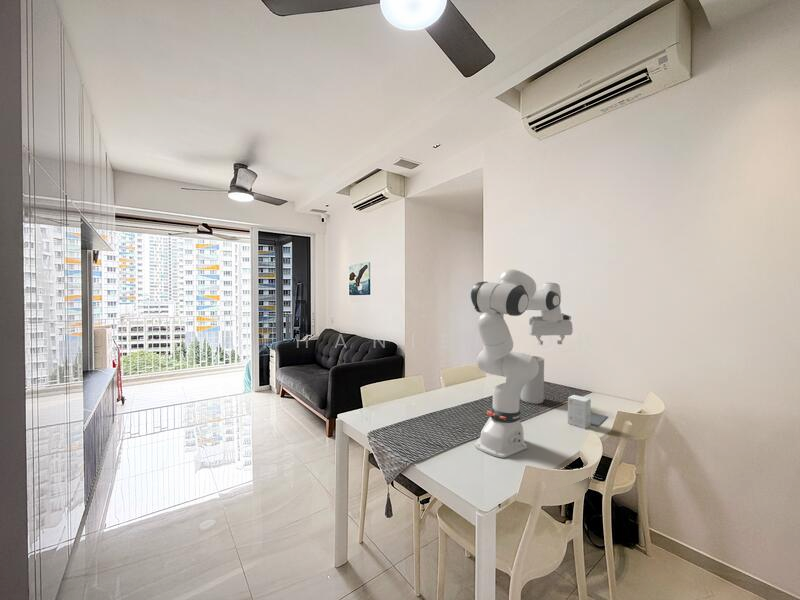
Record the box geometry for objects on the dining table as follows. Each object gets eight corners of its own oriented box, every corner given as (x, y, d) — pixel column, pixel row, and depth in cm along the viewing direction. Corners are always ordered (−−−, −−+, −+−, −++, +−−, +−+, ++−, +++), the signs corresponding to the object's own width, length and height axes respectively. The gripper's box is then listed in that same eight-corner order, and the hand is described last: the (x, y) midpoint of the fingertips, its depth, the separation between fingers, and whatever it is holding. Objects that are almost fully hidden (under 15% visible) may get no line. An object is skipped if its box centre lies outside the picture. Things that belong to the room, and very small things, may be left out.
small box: (590, 425, 151) (591, 398, 150) (585, 429, 147) (585, 401, 146) (572, 419, 157) (573, 394, 157) (567, 423, 153) (567, 397, 153)
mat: (597, 426, 150) (597, 425, 150) (577, 420, 156) (577, 419, 156) (607, 417, 160) (607, 416, 160) (587, 411, 167) (587, 411, 167)
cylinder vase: (536, 396, 191) (537, 355, 190) (547, 404, 178) (548, 360, 177) (516, 396, 190) (517, 355, 189) (526, 404, 178) (527, 360, 176)
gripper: (532, 317, 149) (531, 345, 150) (574, 316, 150) (574, 345, 150) (526, 315, 156) (526, 343, 156) (567, 315, 156) (566, 342, 157)
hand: (550, 344), depth 153 cm, fingers open, 8 cm apart
